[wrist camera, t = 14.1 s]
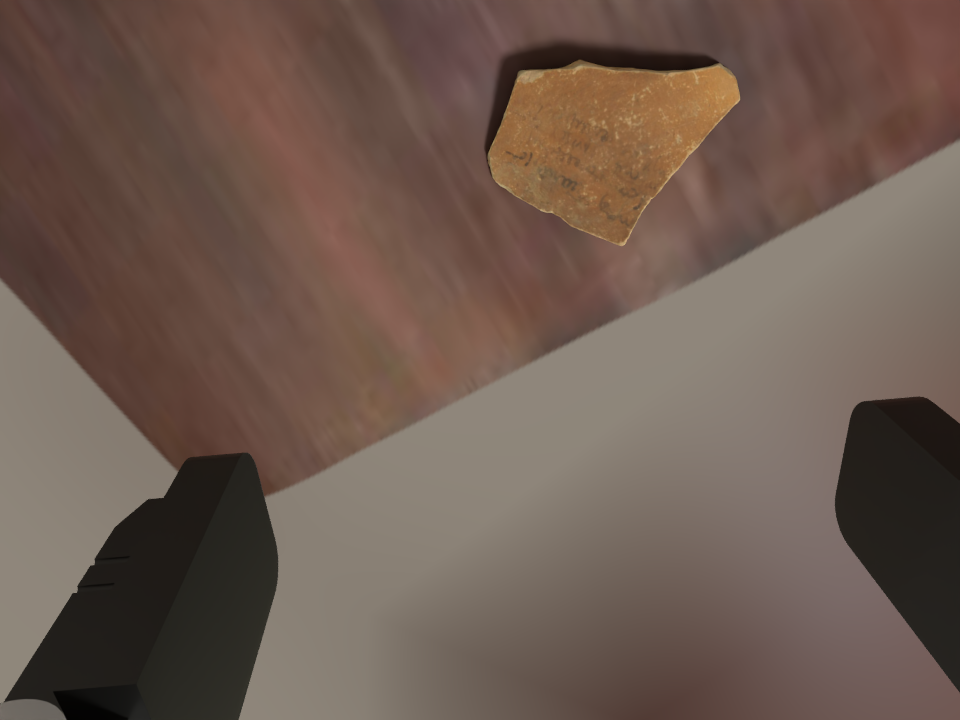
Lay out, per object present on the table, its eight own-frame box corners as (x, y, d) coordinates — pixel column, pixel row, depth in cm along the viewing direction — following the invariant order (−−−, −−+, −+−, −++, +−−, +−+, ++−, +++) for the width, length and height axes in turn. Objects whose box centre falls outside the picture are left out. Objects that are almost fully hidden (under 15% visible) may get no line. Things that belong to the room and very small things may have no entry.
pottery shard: (741, 74, 34) (763, 78, 32) (659, 249, 38) (673, 264, 36) (542, -6, 32) (549, -8, 30) (476, 187, 36) (478, 199, 34)
